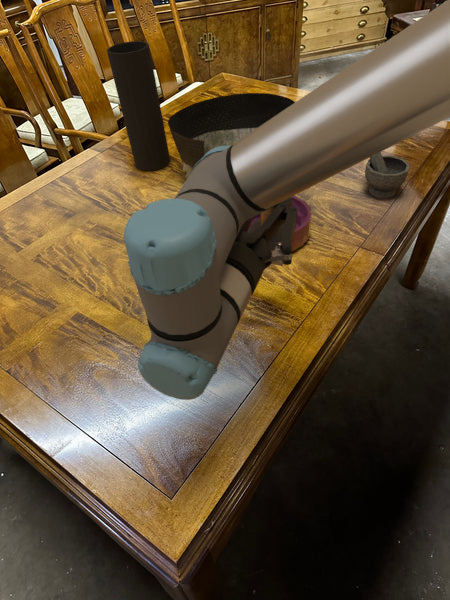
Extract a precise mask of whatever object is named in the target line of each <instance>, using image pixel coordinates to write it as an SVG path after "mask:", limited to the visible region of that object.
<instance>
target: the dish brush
mask: <svg viewBox="0 0 450 600" xmlns="http://www.w3.org/2000/svg"><path fill="white" fill-rule="evenodd" d="M273 210H274V206H273V207H271V208H270V209H268V210H266V211H264V212H262V213H261V219H255V220H254V222H253V224H252V225H251V227H250V229H249V230H248V232H247V233H253V232H254V231H255V230H256V229H257V227H261V225H262V224H263V223H264V222H265V220H266V219H267V218H268V217H269V215H270V214H271V213H272V211H273ZM284 224H285V223H284ZM284 224H282V225H281V227H280V228H279V230H278V231H277V232H276V234H275V235H274V236H273V238H272V239H271V241H270V242H269V243H268V246H269V248H270V250H271V251H274V250H275V247H276V246H278V243H279V242H281V235H282V231H283V227H284ZM271 265H274V266H279V267H283V265H284V264H283V262H282V261H274V262H272V263H271Z"/></svg>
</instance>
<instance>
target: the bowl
mask: <svg viewBox="0 0 450 600" xmlns="http://www.w3.org/2000/svg"><path fill="white" fill-rule="evenodd" d="M291 207H295V208H297V223H296V228H295V232H294V236H293V240H292V244H291V245H292V252H294V251H296V250H297V249H299V248H301V247H302V246H303V245H305V243H306V242H307V241H308V240H309V238H310V234H311V226H312V215H313V213H312V210H311V206H310V205H309V204H308V203H307V202H306V201H305V200H303V199H302V198H300V197H298V196H296V195H294V196H292V205H291ZM255 219H261V213H260V214H258V215H256V216H254V217H253V218H252V221H251V224H250V226H249V229H250V227H251V225H252V224H253V222H254V220H255ZM249 229H248V230H249Z"/></svg>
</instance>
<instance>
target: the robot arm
mask: <svg viewBox="0 0 450 600" xmlns="http://www.w3.org/2000/svg"><path fill="white" fill-rule="evenodd" d="M294 102H295V103H294V104H292V105H291V106H289V107H288V108H286V109H285V110H283V111H282V112H280V113H279V114H277V115H276V116H274V117H273V118H271V119H270V120H268V121H267V122H265V123H264V124H262V125H261V126H260V127H258V128H257V129H255V130H254V131H252V132H251V133H249V134H248V135H246V136H245V137H243V138H242V139H240V140H239V141H237V142H236V143H234V144H233V145H232V146H219V147H215V148H213V149H211V150H210V151H208V152H207V153H206V154H205V155H204V157H203V158H202V159H201V160H199V161H198V162H197V163H196V164H195V166H194V167H193V170H192V171H191V172H190V175H189V177H188V178H186V180H185V182H184V183H183V184H182V186H181V187H180V189H179V191H178V192H177V193H176V195H175V197H174V198H165V199H159V200H156V201H152V202H150V203H148V204H147V205H146V206H145V208H142V209H138V210H137V211H134V212H133V213H132V215H131V216H130V217H129V218H128V220H127V222H126V224H125V227H124V230H123V240H124V244H125V245H124V246H125V249H126V253H127V258H128V262H127V263H128V266H129V272H130V274H131V276H132V279H133V281H134V283H135V286H136V289H137V292H138V295H139V298H140V301H141V304H142V307H143V310H144V312H145V313H144V314H145V315H146V320H147V325H148V328H149V331H150V334H151V335H150V339H149V340H148V342H146V343H145V344H144V346H143V349H142V351H141V353H140V356H139V358H138V362H137V368H138V369H137V370H138V372H139V374H140V376H141V377H142V379H143V380H144V381H145V382H146V383H147V384H148V385H150V387H151V388H153V389H154V390H156V391H157V392H159V393H161V394H163V395H165V396H167V397H170V398H173V399H176V400H182V401H189V400H195V399H197V398H199V397H200V396H201V395H203V394H204V393H205V391H206V389H207V387H208V386H209V384H210V382H211V381H212V379H213V377H214V375H216V374H217V372H218V368H219V365H220V363H221V360H223V356H224V354H225V353H226V350H227V348H228V346H229V344H230V343H231V342H230V341H231V339H232V337H233V335H234V333H235V332H236V329H237V327H238V325H239V323H240V321H241V319H242V317H243V314H244V312H245V311H246V309H247V306H248V304H249V303H250V301H251V298H252V296H253V294H254V293H255V291H256V288H257V287H258V285H259V282H260V280H261V278H262V276H263V273H264V271H265V270H266V269H267V268H269V267H270V266H271V265H272V264H271V263H272V262H274V261H282V262H283V265H285V266H289V265H292V263H293V251H292V245H291V244H292V240H293V236H294V232H295V228H296V223H297V208H295V207H291V205H292V196H296V195H298V194H300V193H303V192H304V191H307V190H308V189H310V188H312V187H315V186H316V185H319V184H320V183H322V182H324V181H327V180H328V179H330V178H332V177H334V176H336V175H338V174H340V173H342V172H344V171H346V170H348V169H350V168H352V167H354V166H356V165H358V164H360V163H361V162H364V161H366V160H369V159H370V157H372V156H374V155H376V154H378V153H379V152H381V153H382V152H384V151H386V150H388V149H390V148H391V147H393V146H396V145H397V144H400V143H401V142H403V141H405V140H407V139H409V138H412V137H413V136H415V135H417V134H419V133H421V132H423V131H425V130H427V129H429V128H431V127H433V126H435V125H437V124H439V123H441V122H443V121H445V120H447V119H449V118H450V0H446V1H444V2H443V3H441V4H439V5H438V6H437V7H435V8H434V9H432V10H431V11H429V12H428V13H426V14H425V15H424V16H422V17H420V18H419V19H418V20H417V19H416V21H414V22H412V23H411V24H409V25H408V26H407V27H406V28H404V29H402V30H401V31H399V32H398V33H396V34H395V35H393V36H392V37H390V38H389V39H387V40H386V41H384V42H383V43H382V44H380V45H379V46H377V47H376V48H374V49H373V50H371V51H370V52H368V53H367V54H365V55H364V56H362V57H361V58H360V59H358V60H356V61H355V62H353V63H352V64H350V65H349V66H347V67H346V68H344V69H343V70H342V71H340V72H338V73H337V74H336V75H334V76H332V77H331V78H330V79H328V80H327V81H325V82H323V83H322V84H320V85H319V86H318V87H316V88H314V89H313V90H312V91H310V92H309V93H307V94H306V95H304V96H302V97H301V98H300V99H298V100H297V101H294ZM273 206H274V210H273V211H272V213H271V214H270V215H269V217H268V218H267V219H266V220H265V222H264V223H263V224H262V225H261V227H257V229H256V230H255V231H254V232H253V233H247V232H248V229H249V226H250V224H251V221H252V218H253V217H254V216H256V215H258V214H260V213H262V212H264V211H266V210H268V209H270V208H271V207H273ZM284 223H285V224H284ZM282 224H284V227H283V231H282V235H281V242H279V243H278V246H276V247H275V250H274V251H271V250H270V248H269V246H268V243H269V242H270V241H271V239H272V238H273V236H274V235H275V234H276V232H277V231H278V230H279V228H280V227H281V225H282Z"/></svg>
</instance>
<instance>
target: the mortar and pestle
mask: <svg viewBox="0 0 450 600" xmlns="http://www.w3.org/2000/svg"><path fill="white" fill-rule="evenodd" d="M410 168H411V164H410V163H409V162H408V161H407V160H406V159H404V158H402V157H398V156H394V155H382V151H381V152H379V153H378V154H376V155H374V156H372V157H370V158H368V159H367V162H366V165H365V169H364V177H365V180H366V182H367V184H368V185H369V186H370V187H369V190H368V192H369V194H371V196H372V197H375V198H378V199H389V198H392V197H394V196H395V194H396V192H397V189H398V188H400V187H402V185H403V184H404V183H405V181H406V179H407V177H408V175H409V171H410Z"/></svg>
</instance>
